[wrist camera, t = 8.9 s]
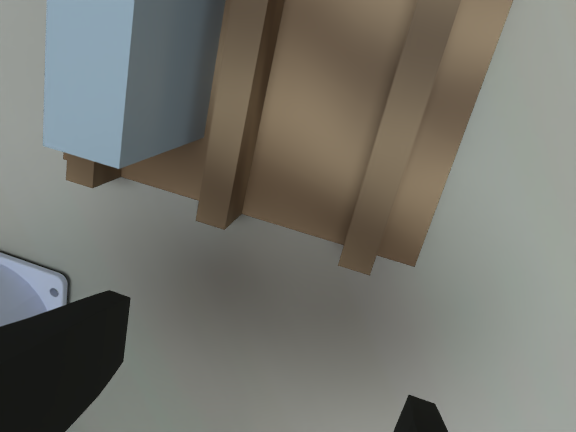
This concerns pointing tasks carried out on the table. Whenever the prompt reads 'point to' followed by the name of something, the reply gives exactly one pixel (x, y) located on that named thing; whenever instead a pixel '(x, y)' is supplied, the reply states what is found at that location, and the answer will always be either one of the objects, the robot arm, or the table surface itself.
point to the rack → (331, 119)
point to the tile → (128, 76)
